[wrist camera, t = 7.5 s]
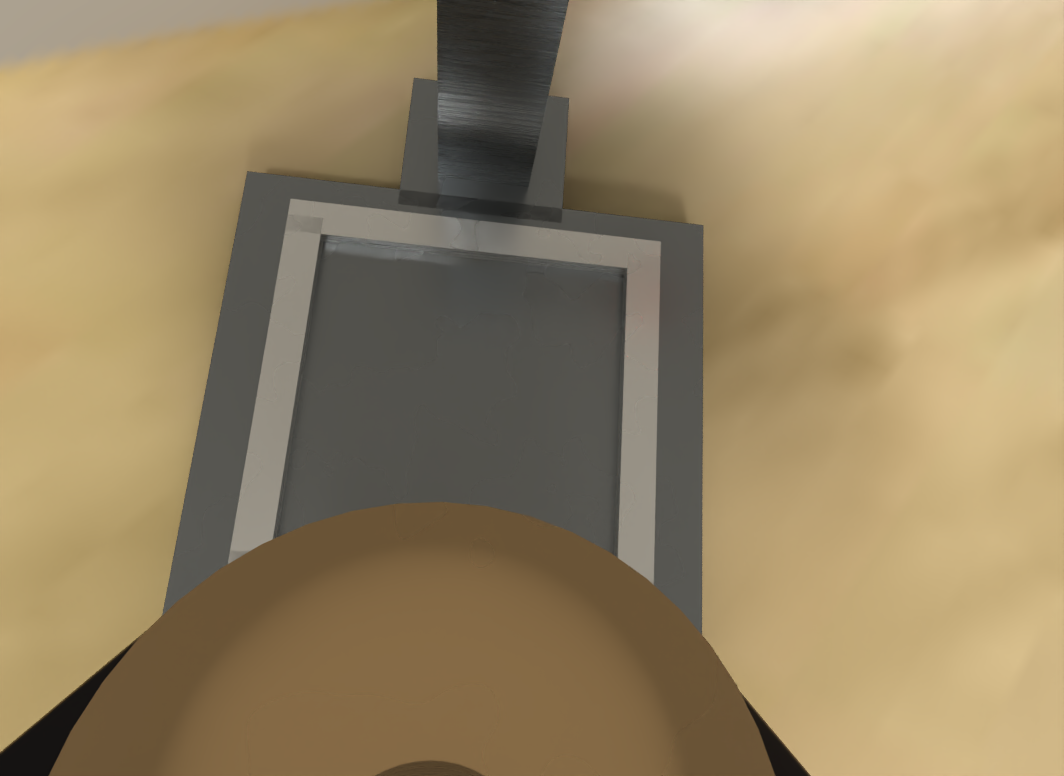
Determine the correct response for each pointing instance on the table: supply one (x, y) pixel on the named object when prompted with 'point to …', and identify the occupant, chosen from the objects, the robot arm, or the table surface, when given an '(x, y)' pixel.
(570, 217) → the press bed
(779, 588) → the table surface
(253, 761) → the amber cylindrical piece
